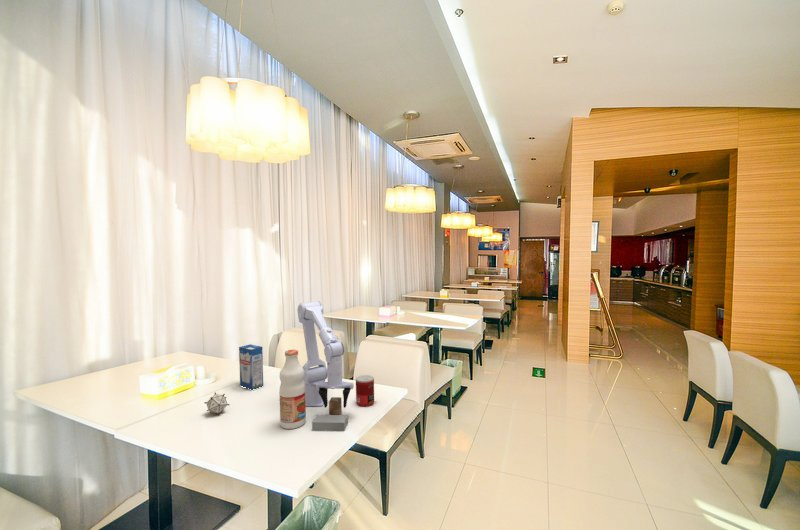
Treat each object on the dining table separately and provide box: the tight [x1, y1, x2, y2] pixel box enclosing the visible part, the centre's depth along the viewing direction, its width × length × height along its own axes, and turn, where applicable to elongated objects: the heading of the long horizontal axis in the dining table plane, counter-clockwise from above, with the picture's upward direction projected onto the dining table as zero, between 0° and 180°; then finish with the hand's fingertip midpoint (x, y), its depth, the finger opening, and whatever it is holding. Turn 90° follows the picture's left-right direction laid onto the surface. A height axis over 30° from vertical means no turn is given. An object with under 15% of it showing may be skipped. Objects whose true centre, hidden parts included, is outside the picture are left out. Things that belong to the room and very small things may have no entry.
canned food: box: [355, 374, 375, 408], centre depth 148 cm, size 8×8×11 cm
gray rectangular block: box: [311, 414, 349, 432], centre depth 128 cm, size 12×6×3 cm, turn 87°
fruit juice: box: [279, 349, 307, 430], centre depth 131 cm, size 9×9×28 cm
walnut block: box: [328, 396, 343, 415], centre depth 136 cm, size 4×4×7 cm
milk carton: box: [238, 344, 264, 391], centre depth 170 cm, size 10×6×20 cm, turn 58°
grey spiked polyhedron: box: [204, 392, 231, 416], centre depth 141 cm, size 9×8×10 cm
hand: (335, 406), depth 136 cm, fingers open, 7 cm apart
